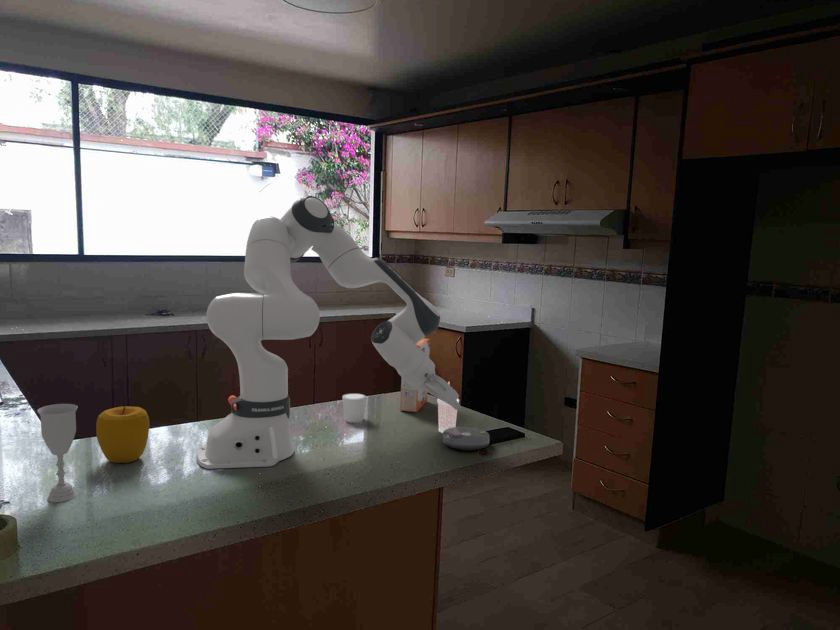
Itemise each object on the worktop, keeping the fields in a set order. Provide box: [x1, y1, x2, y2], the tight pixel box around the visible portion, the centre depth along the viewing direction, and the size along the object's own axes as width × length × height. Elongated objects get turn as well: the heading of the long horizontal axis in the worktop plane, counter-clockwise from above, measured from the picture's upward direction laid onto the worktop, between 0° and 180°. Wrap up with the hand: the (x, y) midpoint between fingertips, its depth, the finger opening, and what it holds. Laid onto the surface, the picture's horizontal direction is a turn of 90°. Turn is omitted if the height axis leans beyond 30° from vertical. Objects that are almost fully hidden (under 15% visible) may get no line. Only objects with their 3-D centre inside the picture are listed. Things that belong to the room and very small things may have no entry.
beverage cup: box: [436, 381, 460, 434], centre depth 169 cm, size 6×6×14 cm
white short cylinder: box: [341, 392, 367, 423], centre depth 177 cm, size 7×7×7 cm
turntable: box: [442, 426, 490, 452], centre depth 158 cm, size 12×12×3 cm
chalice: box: [37, 403, 79, 503], centre depth 120 cm, size 7×7×18 cm
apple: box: [95, 406, 151, 464], centre depth 140 cm, size 11×11×13 cm
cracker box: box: [399, 337, 431, 413], centre depth 191 cm, size 14×6×21 cm, turn 167°
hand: (449, 402), depth 169 cm, fingers open, 8 cm apart
